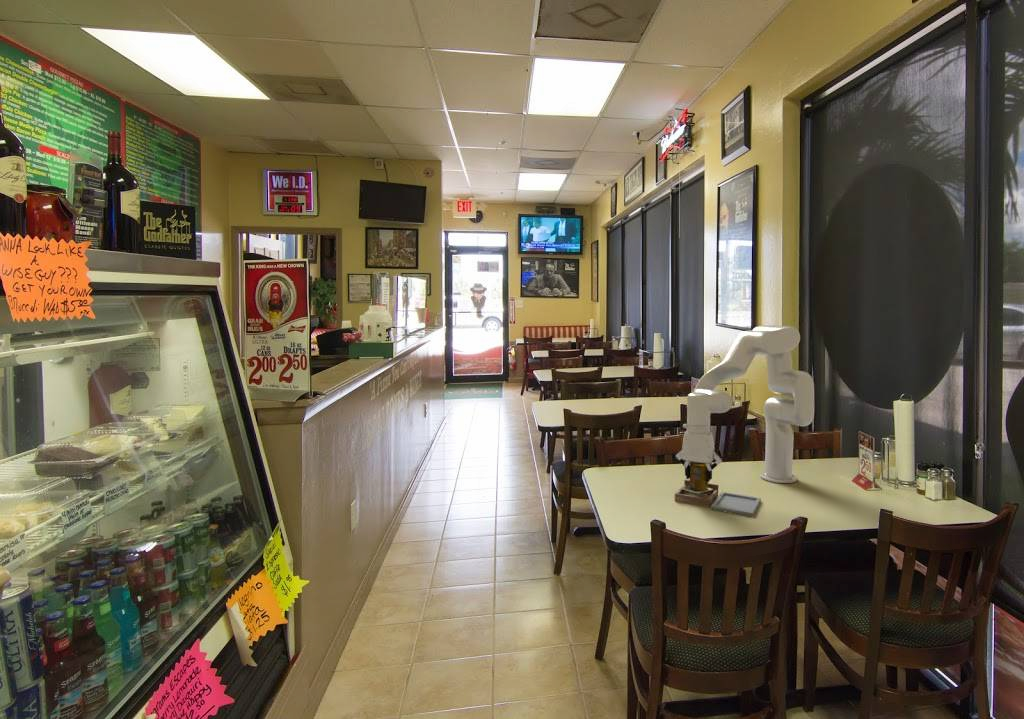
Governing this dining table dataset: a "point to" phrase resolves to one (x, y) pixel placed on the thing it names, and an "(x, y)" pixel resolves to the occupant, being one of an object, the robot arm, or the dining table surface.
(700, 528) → the dining table surface
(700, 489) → the condiment
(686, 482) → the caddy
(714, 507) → the tray
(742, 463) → the dining table surface
